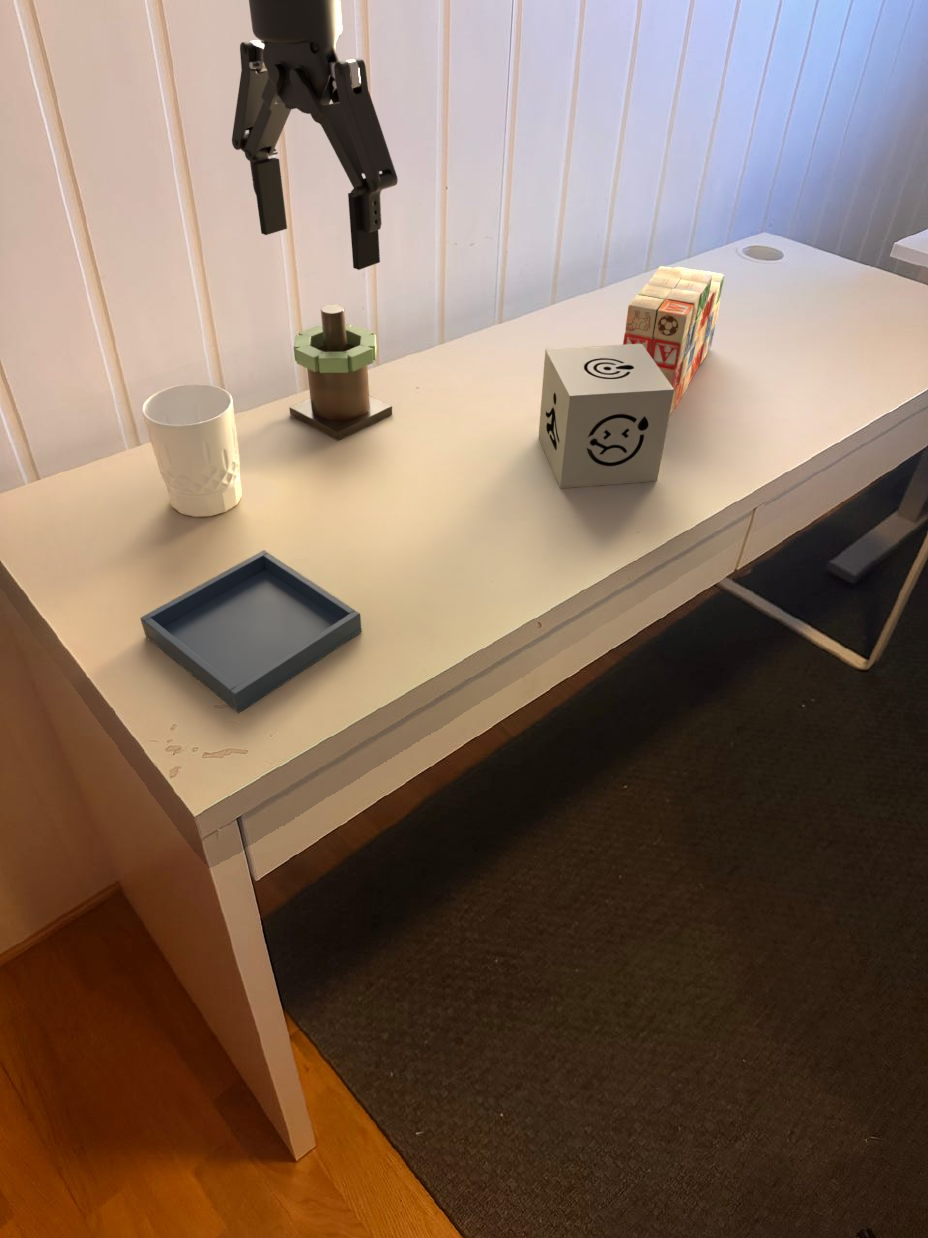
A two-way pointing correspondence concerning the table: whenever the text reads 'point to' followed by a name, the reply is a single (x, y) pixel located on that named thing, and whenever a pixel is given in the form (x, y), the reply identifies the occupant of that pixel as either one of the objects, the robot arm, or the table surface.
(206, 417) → the white cup
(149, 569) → the table surface
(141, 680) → the table surface
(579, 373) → the icon cube
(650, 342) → the stack of blocks
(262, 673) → the tray
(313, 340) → the ring
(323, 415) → the peg stand
